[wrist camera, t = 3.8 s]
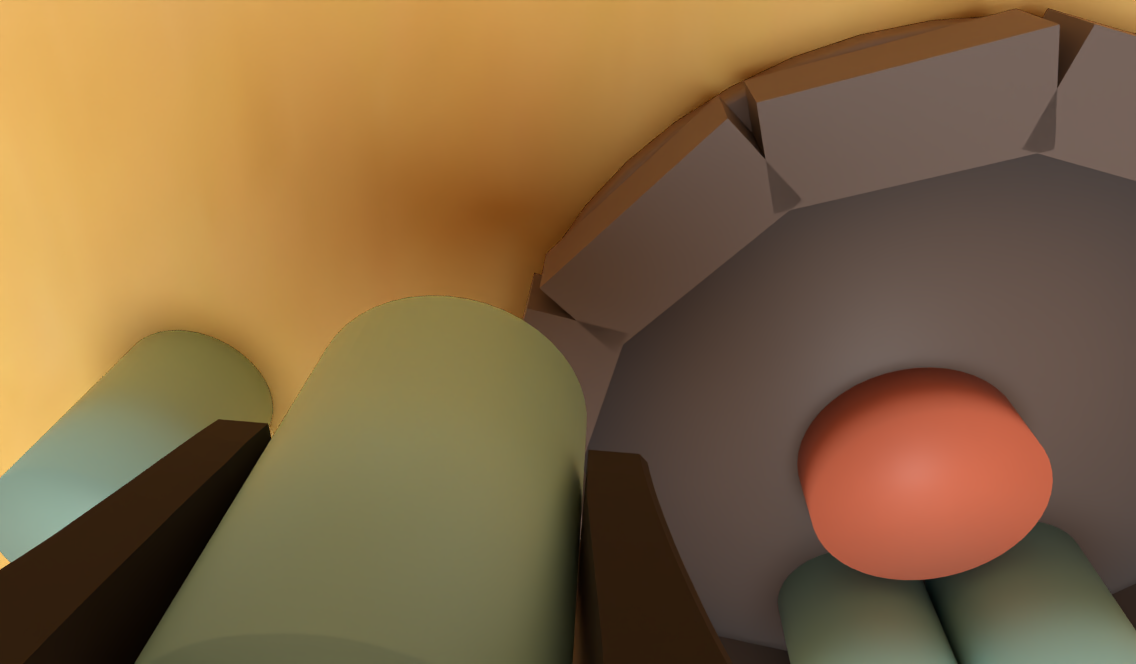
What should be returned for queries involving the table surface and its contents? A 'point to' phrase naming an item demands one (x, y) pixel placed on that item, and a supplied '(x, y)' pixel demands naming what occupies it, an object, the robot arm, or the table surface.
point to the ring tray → (872, 312)
